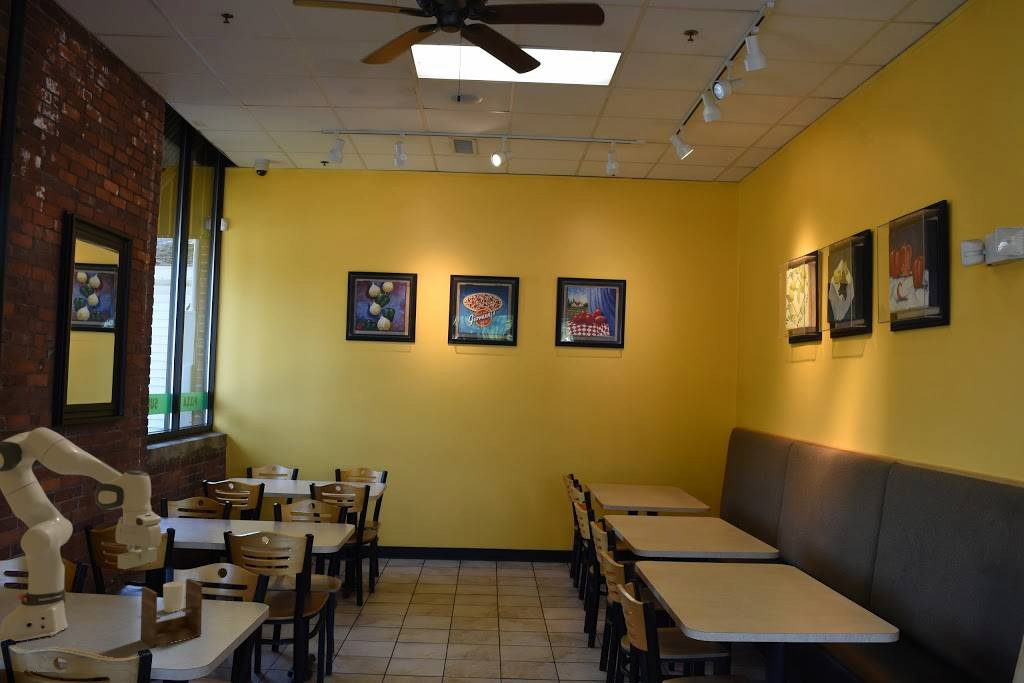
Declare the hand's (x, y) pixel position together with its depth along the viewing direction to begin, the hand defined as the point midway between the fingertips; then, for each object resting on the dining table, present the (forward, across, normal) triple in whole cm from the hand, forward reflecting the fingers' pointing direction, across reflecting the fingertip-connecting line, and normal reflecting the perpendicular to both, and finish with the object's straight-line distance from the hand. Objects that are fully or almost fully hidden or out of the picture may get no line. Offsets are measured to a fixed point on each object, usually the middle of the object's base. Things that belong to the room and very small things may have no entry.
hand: (137, 558), depth 261 cm
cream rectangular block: (+2, 0, 0) cm, 2 cm away
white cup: (+29, -20, +29) cm, 45 cm away
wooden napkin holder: (+29, +7, +7) cm, 30 cm away
